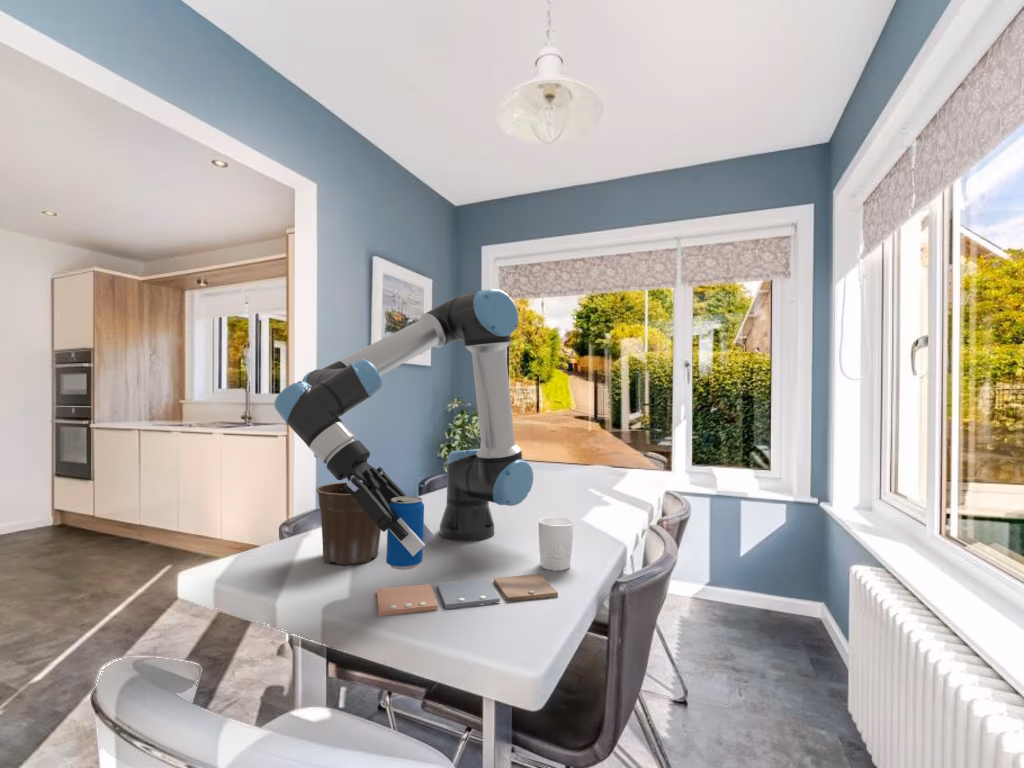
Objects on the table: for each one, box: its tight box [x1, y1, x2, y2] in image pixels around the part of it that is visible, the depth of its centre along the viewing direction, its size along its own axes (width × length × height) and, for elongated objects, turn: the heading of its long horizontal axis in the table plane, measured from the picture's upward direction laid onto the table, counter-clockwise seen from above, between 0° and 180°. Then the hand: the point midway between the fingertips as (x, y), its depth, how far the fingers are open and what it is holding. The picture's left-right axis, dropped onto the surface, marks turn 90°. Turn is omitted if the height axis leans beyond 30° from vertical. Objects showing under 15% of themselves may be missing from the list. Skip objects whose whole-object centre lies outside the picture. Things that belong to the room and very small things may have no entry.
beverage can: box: [386, 495, 425, 571], centre depth 89 cm, size 6×6×12 cm
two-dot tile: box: [436, 578, 501, 610], centre depth 92 cm, size 10×10×1 cm
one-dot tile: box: [493, 573, 559, 602], centre depth 96 cm, size 10×10×1 cm
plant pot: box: [315, 481, 382, 566], centre depth 113 cm, size 16×16×16 cm
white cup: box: [538, 516, 574, 572], centre depth 110 cm, size 8×8×10 cm
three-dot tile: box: [376, 583, 438, 617], centre depth 89 cm, size 10×10×1 cm
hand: (424, 544), depth 89 cm, fingers closed on beverage can, 6 cm apart
